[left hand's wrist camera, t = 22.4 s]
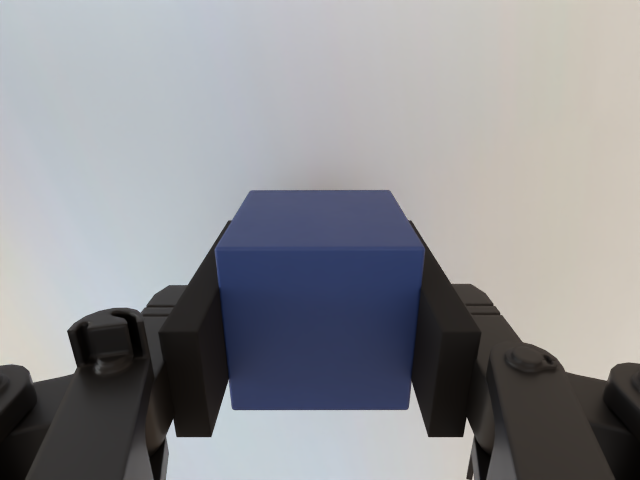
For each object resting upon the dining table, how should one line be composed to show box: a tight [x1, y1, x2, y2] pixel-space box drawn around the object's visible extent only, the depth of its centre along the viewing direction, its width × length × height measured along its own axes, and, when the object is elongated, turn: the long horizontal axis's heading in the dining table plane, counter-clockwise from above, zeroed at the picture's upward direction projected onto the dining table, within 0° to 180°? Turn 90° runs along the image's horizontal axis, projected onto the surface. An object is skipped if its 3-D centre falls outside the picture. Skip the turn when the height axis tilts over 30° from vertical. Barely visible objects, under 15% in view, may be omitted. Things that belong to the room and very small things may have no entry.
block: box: [215, 190, 425, 410], centre depth 12 cm, size 5×5×5 cm
